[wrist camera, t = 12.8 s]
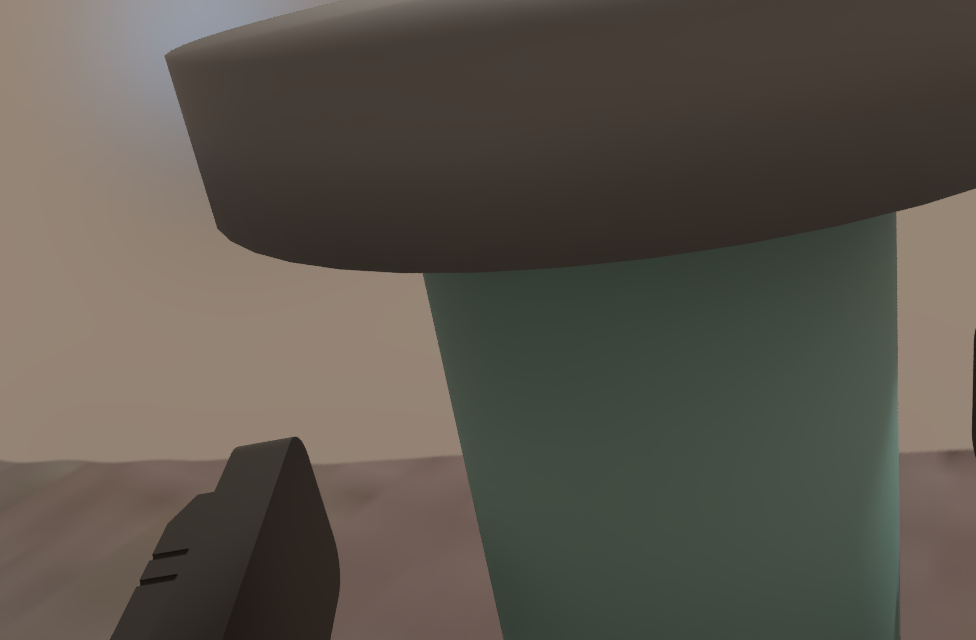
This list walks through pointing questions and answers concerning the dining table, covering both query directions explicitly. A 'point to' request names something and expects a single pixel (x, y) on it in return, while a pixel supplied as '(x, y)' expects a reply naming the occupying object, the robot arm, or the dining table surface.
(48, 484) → the dining table surface
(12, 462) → the dining table surface
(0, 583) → the dining table surface
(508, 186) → the wheel peg
